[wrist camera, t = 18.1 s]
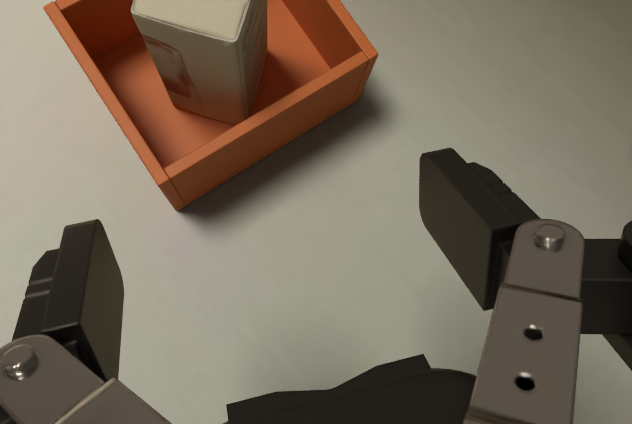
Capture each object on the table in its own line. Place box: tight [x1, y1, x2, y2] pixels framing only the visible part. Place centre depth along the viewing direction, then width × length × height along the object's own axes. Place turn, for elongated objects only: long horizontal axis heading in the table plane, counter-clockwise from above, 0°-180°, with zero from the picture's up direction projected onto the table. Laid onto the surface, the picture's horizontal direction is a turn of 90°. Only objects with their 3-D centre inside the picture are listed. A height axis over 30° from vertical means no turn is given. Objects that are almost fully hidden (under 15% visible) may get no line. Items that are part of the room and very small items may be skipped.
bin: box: [43, 0, 378, 211], centre depth 29 cm, size 12×10×6 cm
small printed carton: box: [131, 0, 268, 125], centre depth 27 cm, size 5×4×10 cm
